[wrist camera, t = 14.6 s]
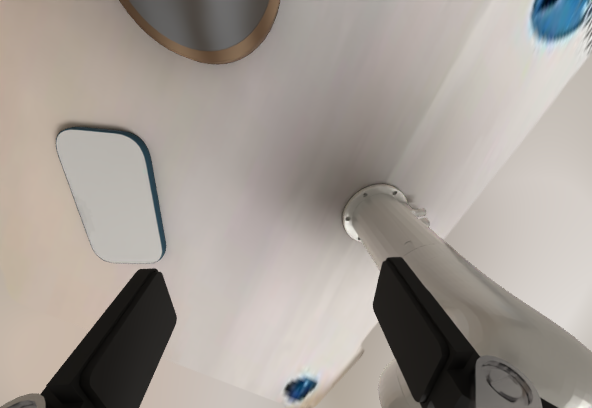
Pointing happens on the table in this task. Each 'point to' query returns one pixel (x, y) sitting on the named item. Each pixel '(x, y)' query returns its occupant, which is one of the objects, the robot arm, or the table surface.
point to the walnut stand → (206, 26)
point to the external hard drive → (114, 193)
